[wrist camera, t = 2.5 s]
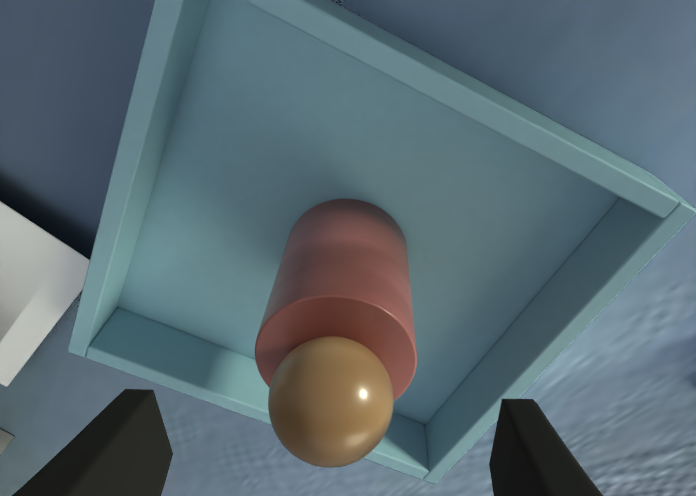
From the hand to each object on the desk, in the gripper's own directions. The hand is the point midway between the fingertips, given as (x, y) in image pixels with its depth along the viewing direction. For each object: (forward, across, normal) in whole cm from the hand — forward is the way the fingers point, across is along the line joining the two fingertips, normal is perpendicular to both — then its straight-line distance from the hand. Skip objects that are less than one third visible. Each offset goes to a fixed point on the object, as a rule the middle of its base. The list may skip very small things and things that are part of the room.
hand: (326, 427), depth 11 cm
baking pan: (+8, 0, 0) cm, 8 cm away
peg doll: (+7, 0, 0) cm, 7 cm away
